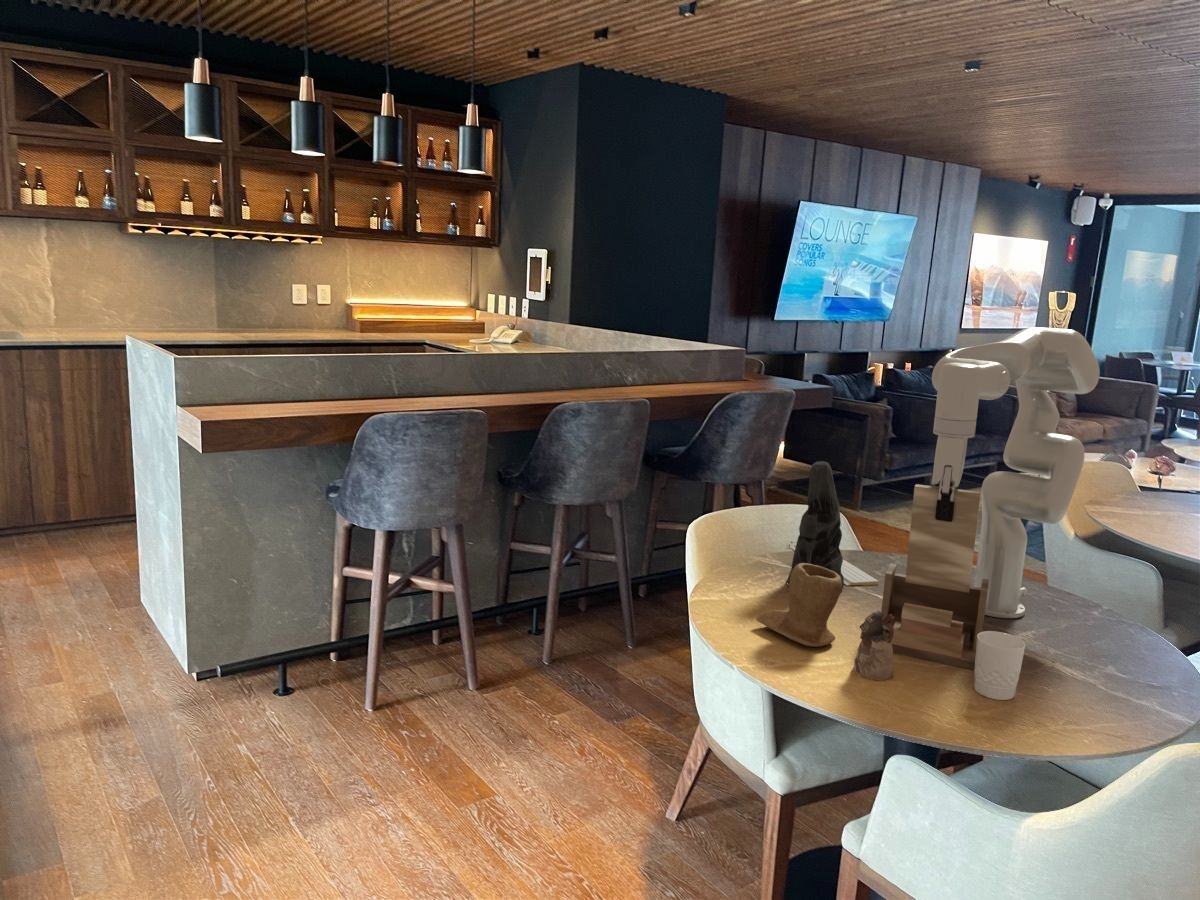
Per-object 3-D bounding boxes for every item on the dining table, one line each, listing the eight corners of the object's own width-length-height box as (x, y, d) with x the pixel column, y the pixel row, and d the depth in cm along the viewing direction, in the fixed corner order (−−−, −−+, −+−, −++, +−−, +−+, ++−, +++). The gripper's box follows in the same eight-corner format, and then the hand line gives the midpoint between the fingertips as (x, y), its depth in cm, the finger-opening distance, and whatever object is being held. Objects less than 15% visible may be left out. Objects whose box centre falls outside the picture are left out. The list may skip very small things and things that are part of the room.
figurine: (860, 660, 169) (866, 601, 167) (897, 671, 165) (904, 610, 163) (847, 673, 163) (853, 612, 161) (885, 684, 159) (892, 622, 157)
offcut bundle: (894, 635, 178) (897, 600, 177) (962, 648, 173) (967, 612, 171) (890, 643, 174) (894, 608, 172) (961, 658, 168) (965, 621, 167)
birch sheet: (906, 579, 180) (915, 484, 176) (969, 589, 175) (980, 492, 171) (905, 582, 178) (914, 486, 174) (968, 592, 173) (980, 494, 169)
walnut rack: (883, 626, 187) (890, 563, 184) (980, 645, 179) (989, 579, 176) (873, 648, 175) (880, 581, 172) (976, 670, 167) (985, 600, 164)
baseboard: (841, 588, 210) (878, 586, 213) (842, 577, 210) (879, 575, 212) (785, 550, 239) (818, 549, 242) (786, 540, 239) (819, 539, 241)
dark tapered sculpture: (775, 576, 215) (785, 457, 210) (825, 574, 219) (836, 456, 213) (802, 597, 202) (813, 470, 197) (855, 593, 206) (868, 468, 200)
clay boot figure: (849, 643, 177) (856, 572, 174) (806, 655, 171) (813, 581, 168) (795, 618, 190) (801, 551, 187) (754, 627, 183) (759, 559, 180)
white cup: (995, 705, 153) (1002, 651, 151) (960, 685, 160) (967, 634, 158) (1028, 698, 156) (1035, 645, 154) (992, 679, 163) (999, 628, 161)
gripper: (937, 419, 178) (928, 507, 182) (929, 431, 164) (919, 526, 168) (977, 423, 175) (967, 512, 179) (972, 435, 161) (961, 532, 165)
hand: (944, 518), depth 173 cm, fingers closed on birch sheet, 2 cm apart
